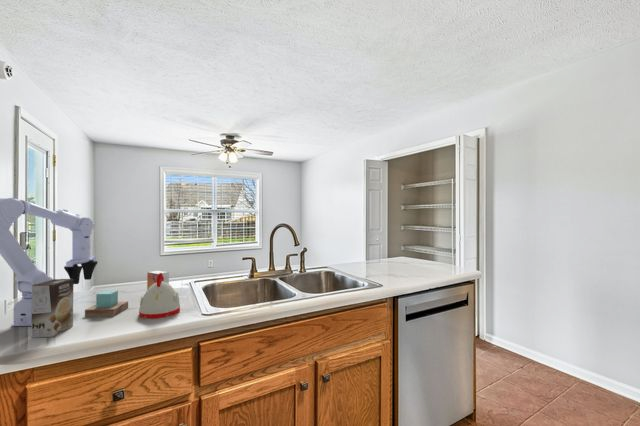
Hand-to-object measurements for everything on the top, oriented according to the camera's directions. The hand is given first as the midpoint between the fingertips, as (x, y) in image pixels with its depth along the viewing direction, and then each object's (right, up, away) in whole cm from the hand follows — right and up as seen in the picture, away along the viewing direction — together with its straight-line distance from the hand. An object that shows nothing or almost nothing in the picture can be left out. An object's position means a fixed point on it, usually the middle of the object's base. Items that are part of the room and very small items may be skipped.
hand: (81, 281), depth 123 cm
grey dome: (+34, -11, -4) cm, 36 cm away
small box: (+20, -11, +20) cm, 30 cm away
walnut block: (+13, -11, -5) cm, 18 cm away
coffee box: (+10, -11, -24) cm, 28 cm away
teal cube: (+13, -8, -5) cm, 16 cm away
